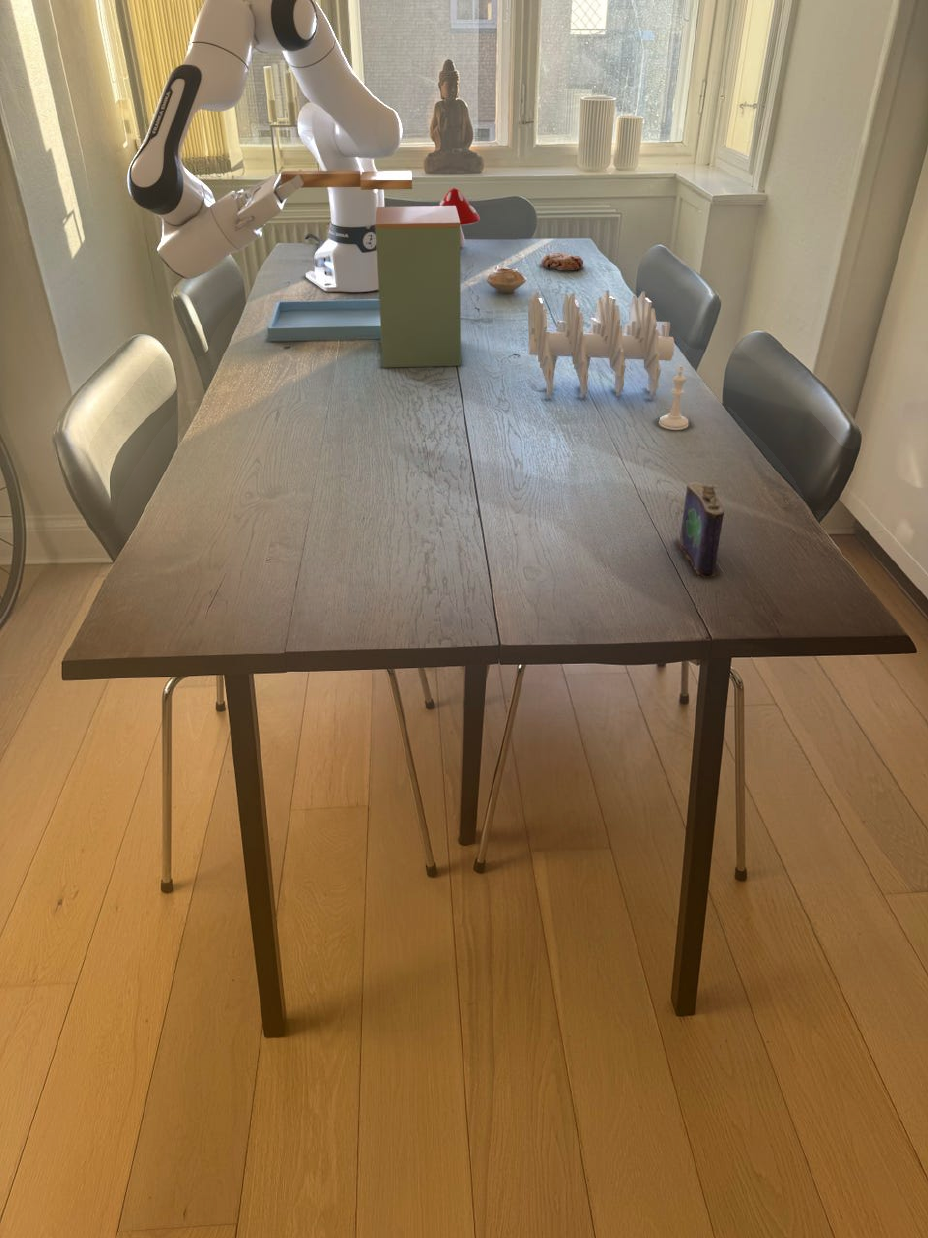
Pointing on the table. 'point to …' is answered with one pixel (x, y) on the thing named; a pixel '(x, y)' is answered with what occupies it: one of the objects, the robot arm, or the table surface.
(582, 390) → the spiral staircase
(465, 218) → the decorative mushroom
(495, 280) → the pottery oil lamp
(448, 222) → the plinth
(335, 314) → the tray
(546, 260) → the cookie
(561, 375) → the table surface
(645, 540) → the table surface
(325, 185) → the paddle
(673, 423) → the chess piece
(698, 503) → the flask
